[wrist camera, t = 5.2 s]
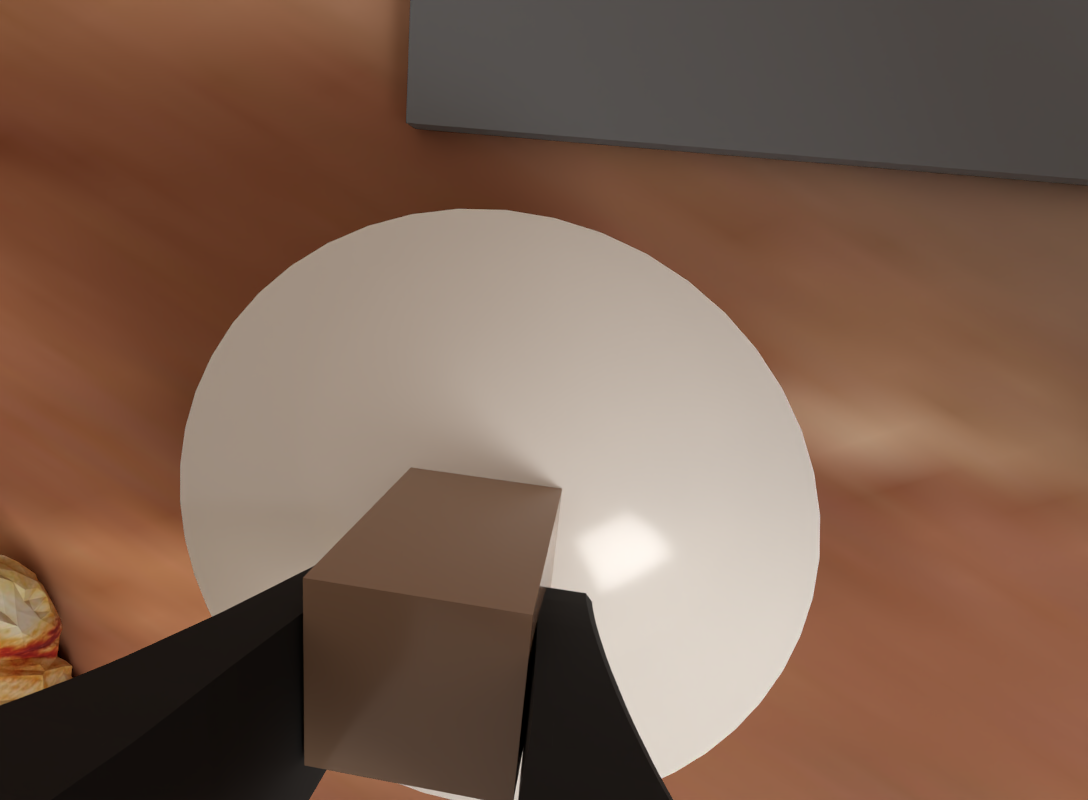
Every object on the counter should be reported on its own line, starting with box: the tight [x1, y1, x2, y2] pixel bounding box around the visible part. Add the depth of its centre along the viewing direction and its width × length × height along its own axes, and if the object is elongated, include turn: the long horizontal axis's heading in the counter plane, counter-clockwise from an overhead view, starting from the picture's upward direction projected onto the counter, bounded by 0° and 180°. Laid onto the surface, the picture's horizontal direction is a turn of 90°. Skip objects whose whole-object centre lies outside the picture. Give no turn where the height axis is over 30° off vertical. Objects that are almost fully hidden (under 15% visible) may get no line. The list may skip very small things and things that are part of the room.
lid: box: [180, 209, 820, 800], centre depth 9 cm, size 11×11×4 cm
